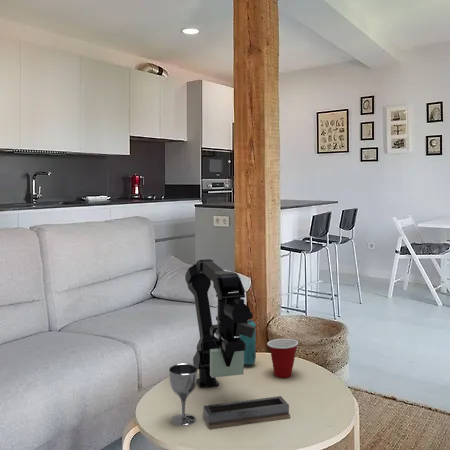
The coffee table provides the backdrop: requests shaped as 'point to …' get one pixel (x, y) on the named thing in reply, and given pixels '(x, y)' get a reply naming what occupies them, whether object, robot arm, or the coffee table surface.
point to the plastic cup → (283, 356)
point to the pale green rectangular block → (219, 366)
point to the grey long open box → (245, 412)
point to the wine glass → (183, 389)
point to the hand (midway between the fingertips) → (226, 364)
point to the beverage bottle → (249, 345)
